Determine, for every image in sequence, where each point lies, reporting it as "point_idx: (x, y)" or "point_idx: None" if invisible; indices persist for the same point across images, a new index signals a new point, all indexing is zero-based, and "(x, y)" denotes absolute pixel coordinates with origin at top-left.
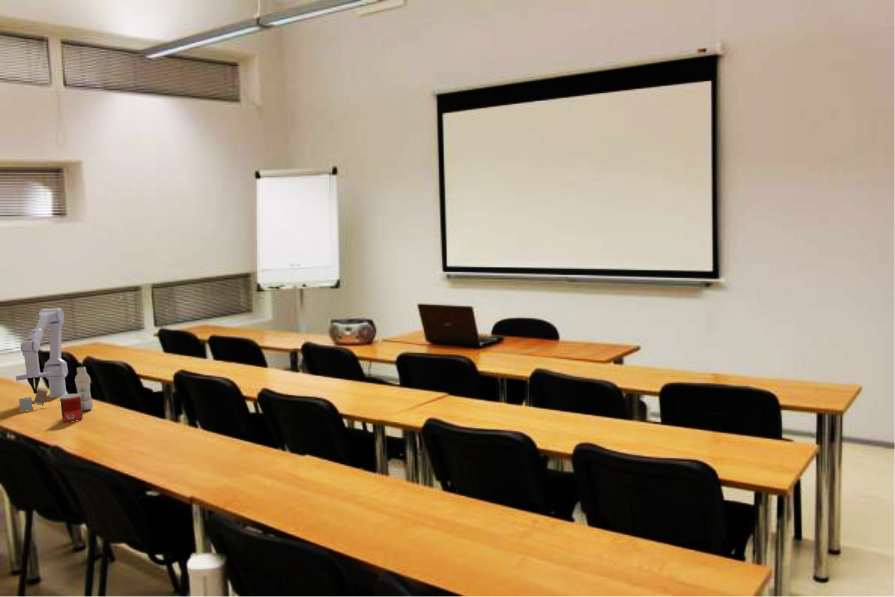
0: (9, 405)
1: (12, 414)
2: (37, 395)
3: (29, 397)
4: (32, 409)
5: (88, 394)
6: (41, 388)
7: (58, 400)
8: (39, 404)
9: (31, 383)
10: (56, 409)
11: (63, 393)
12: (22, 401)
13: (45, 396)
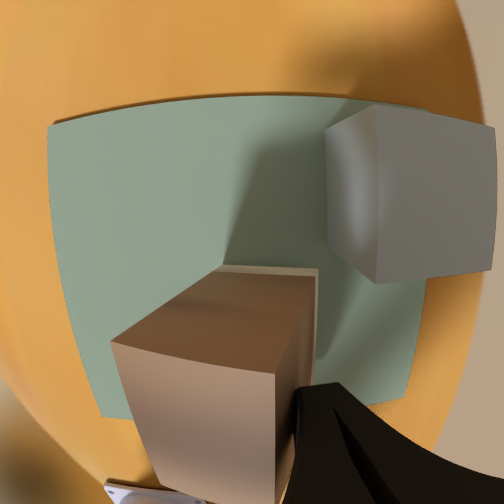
0: (435, 427)
1: (459, 100)
2: (288, 313)
3: (399, 274)
4: (325, 131)
5: None
6: (228, 488)
7: (112, 393)
8: (260, 268)
9: (468, 495)
10: (104, 33)
11: (124, 501)
12: (461, 122)
13: (171, 303)
